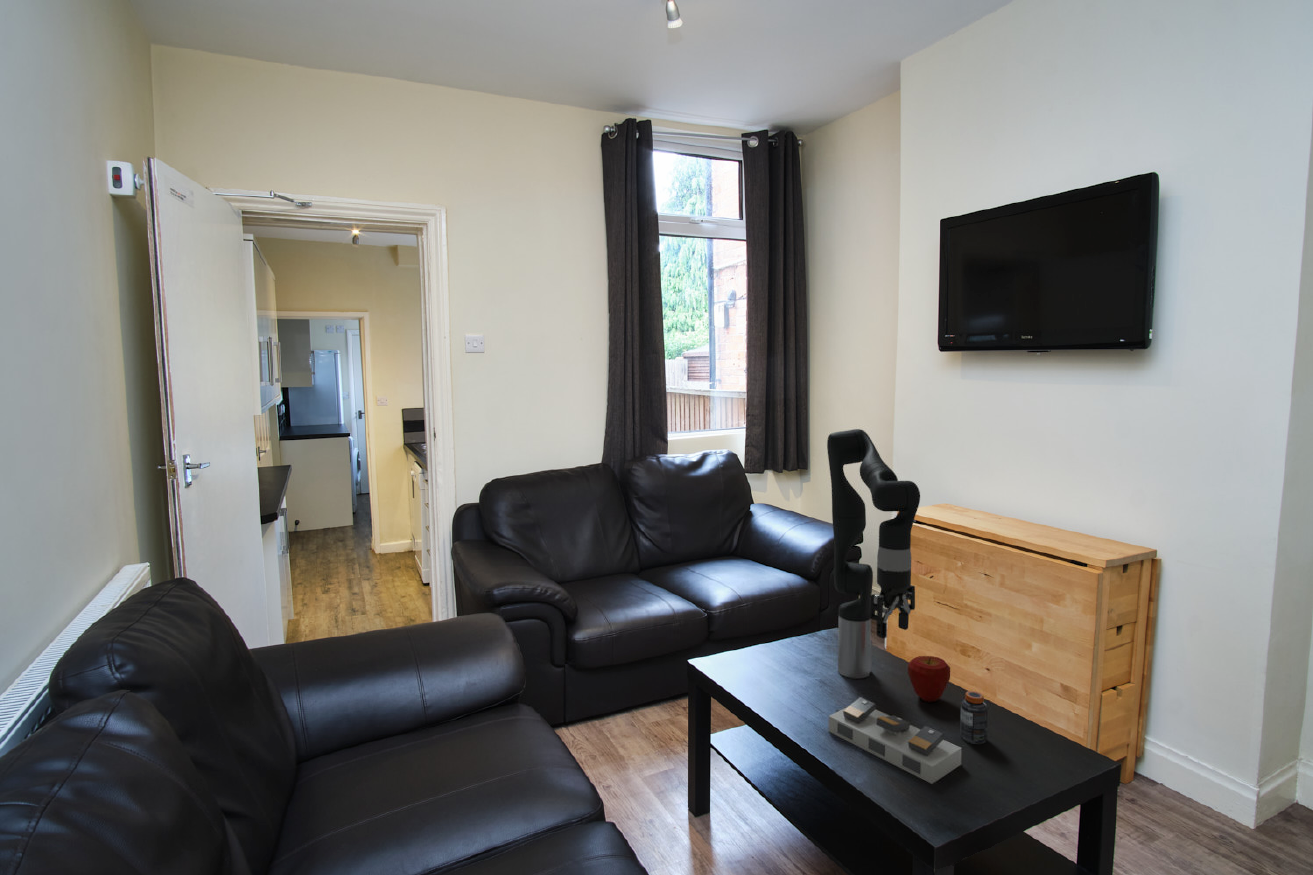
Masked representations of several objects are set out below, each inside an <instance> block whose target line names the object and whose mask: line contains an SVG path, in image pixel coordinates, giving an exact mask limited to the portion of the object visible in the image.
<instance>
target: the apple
mask: <svg viewBox="0 0 1313 875" xmlns="http://www.w3.org/2000/svg"><path fill="white" fill-rule="evenodd" d="M907 665H908V667H907V675H908V677H909V679H910V683H911V686H912V687H913V690H914V692H915V694H916V695H917V696H918V697H919V698H920V699H921V700H923V701H924V702H927V703H934V702H936V701H937V700H939V699H940V698H941V697H942V696H943V694H944V692H945V690H946V688H947V686H948V683H949V681H950V679H951V667H950V665H949V664H948V663H947V662H946V660H944V659H942V658H940V657H939V656H931V655H920V656H916V657H913V658H912V659H911V660H910V661H909V662H908V664H907Z"/></svg>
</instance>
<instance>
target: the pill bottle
mask: <svg viewBox="0 0 1313 875" xmlns="http://www.w3.org/2000/svg"><path fill="white" fill-rule="evenodd" d="M984 699H985V698H984V695H983V694H982V693H981V692H978V691H974V690H970V691H966V692H965V699H963V700H962V701H961V703H960V726H959V728H960V729H959V730H960V731H959V732H960V733H959V736H960V738H961V739H962V740H963V741H965V742H967V743H970V744H973V745H982V744H985V743H986V742H988V713H989V712H988V710H989V709H988V706H987V704H986V703H985V702H984V701H985V700H984Z"/></svg>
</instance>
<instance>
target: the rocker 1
mask: <svg viewBox="0 0 1313 875" xmlns="http://www.w3.org/2000/svg"><path fill="white" fill-rule="evenodd" d="M845 708H846V709H845V710H844V711H843V714H844V717H845V718H847V719H850V720H852V721H854V722H856V723H858V724H859V723H860V722H862V721H863V720H864V719H865V718H866V717H867V716H869V715H870V714H871V713H872V712H873V711H874V710H875V709H876V703H874V702H872V701H870V700H868V699H866V698H863V697H861V696H859V697H858V698H857V699H856V700H854V702H852V703H851V704H850V705H848V706H847V707H845ZM876 710H877V709H876Z"/></svg>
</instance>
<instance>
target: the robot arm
mask: <svg viewBox="0 0 1313 875" xmlns="http://www.w3.org/2000/svg"><path fill="white" fill-rule="evenodd" d="M826 442H827V444H826V447H827V458H828V468H829V474H830V484H831V517H832V518H831V519H832V529H833V543H834V548H833V551H834V552H833V553H834V558H833V561H834V562H833V565H834V566H833V584H834V589H835V590H836V591H837V593H841V594H846V595H853V596H858V598H857V599H855V600H852V601H848V602H847V601H846V602H844V603H841V604H840V605H839V607H838V634H837V635H838V637H837V640H838V642H837V643H838V644H837V647H838V648H837V654H838V655H837V672H838V673H839V674H840V675H842V676H843V677H846V678H850V679H864V678H868V677H870V674H871V672H872V667H873V666H872V663H873V662H872V660H873V658H872V657H873V641H872V640H871V636H872V634H871V633H872V631H871V630H872V629H871V628H872V621H875V622H876V636H877V637H878V638H880V639H886V638H887V637H888V634H887V633H888V623H887V621H888V619H889V617H890V616H891V615H892V614H893V612H894V611H895V610H896V609H897V610H898V628H899V629H901V630H903V631H906V630H908V629H909V617H910V616H909V615H910V614H911V611H915V609H916V587H915V585H912V551H911V548H912V547H911V546H912V545H911V542H912V540H911V539H912V537H911V536H912V528H913V525H914V522H915V518H916V515H917V512H918V509H919V506H920V501H921V490H920V489H919V487H918V485H917V484H916V483H915V482H914V481H912V480H899V479H898V476H897V475H896V473H895V472H894V470H892V469H891V468H890V467H889V466H888V465H887V464H886V463H885V462H884V460H883V459H882V457H881V454H880V453H879V452H878V449H877V448H876V445H875V444H874V443H873V441H872V439H871V437H870V435H869V434H868V433H867V432H866V431H865V430H863V429H861V428H856V429H854V428H853V429H848V430H843V431H842V430H841V431H836V432H831V433H829V434H828V437H827V441H826ZM858 463H861V464H860V467H859V476H860V479H861V480H862V482H863V483H864V484H865V485H866V487H867V488H868V490H869V491H870V494H871V500H872V501H871V502H872V505H873V506H874V508H875V509H877V511H881V512H898V513H897V514H896V515H895V517H893V518H890V519H886V520H883V521H882V522H880V524H879V527H878V549H877V550H878V551H877V562H876V584H877V585H878V586H879V587H880V592H879V594H875V593H873V583H874V581H873V580H874V572H873V568H872V567H871V565H870V564H867V563H858V562H851V561H850V562H849V561H847V560H846V559H847V557H848V555H849V552H850V551H851V549H852V547H853V546H854V545H855V543H857V541H858V540H859V539H860V537H861V536H862V534H863V533H864V532H865V529H866V525H867V522H866V521H867V520H866V519H867V517H866V516H867V515H866V513H867V512H866V509H867V508H866V504H865V501H864V499H863V498H862V496H861V495H860V494H859V492H857V490H856V488H854V487H853V485H852V484H851V483H850V482H849V480H848V478H847V477H846V474H845V472H844V466H846V465H852V464H858ZM908 600H909V601H910V603H909V601H908Z"/></svg>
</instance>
